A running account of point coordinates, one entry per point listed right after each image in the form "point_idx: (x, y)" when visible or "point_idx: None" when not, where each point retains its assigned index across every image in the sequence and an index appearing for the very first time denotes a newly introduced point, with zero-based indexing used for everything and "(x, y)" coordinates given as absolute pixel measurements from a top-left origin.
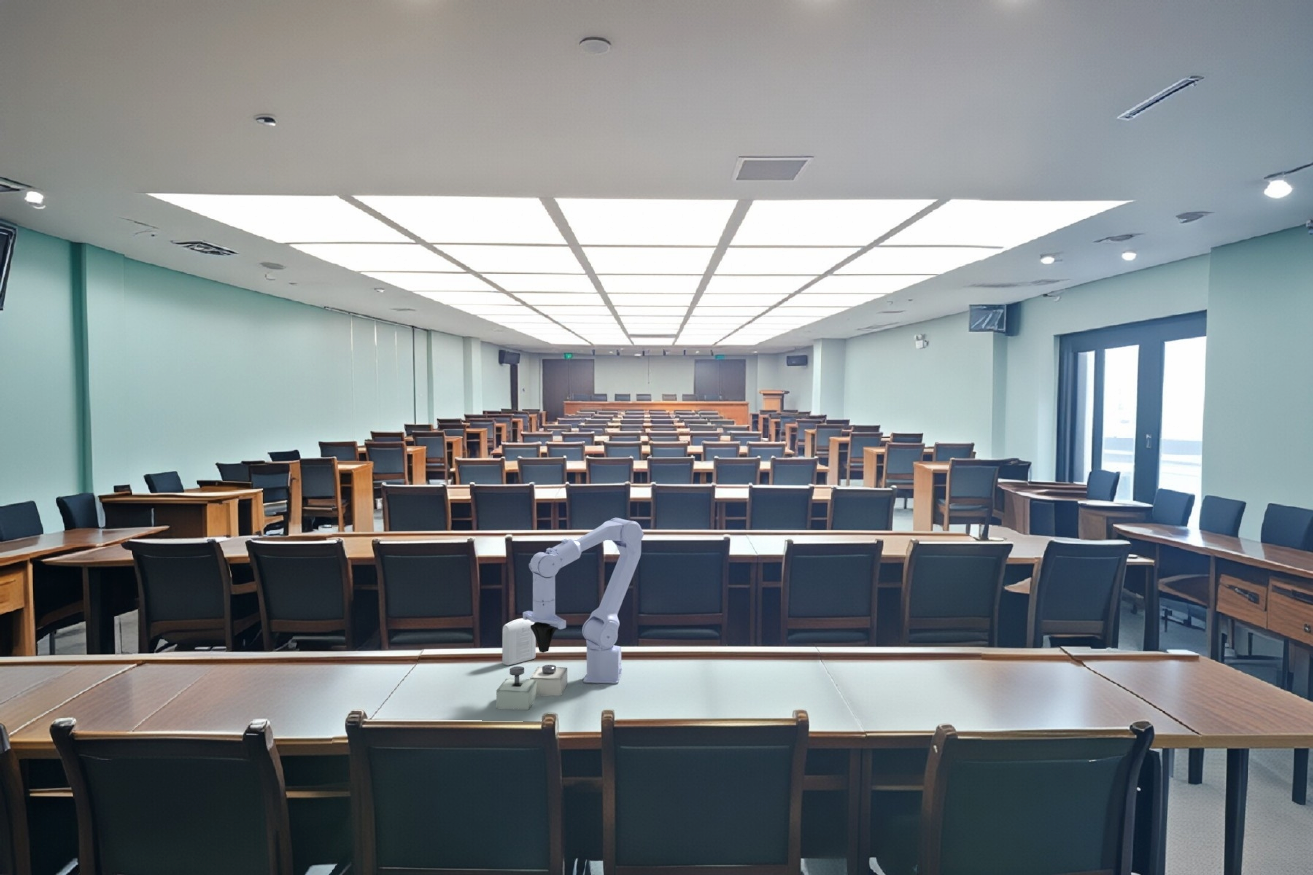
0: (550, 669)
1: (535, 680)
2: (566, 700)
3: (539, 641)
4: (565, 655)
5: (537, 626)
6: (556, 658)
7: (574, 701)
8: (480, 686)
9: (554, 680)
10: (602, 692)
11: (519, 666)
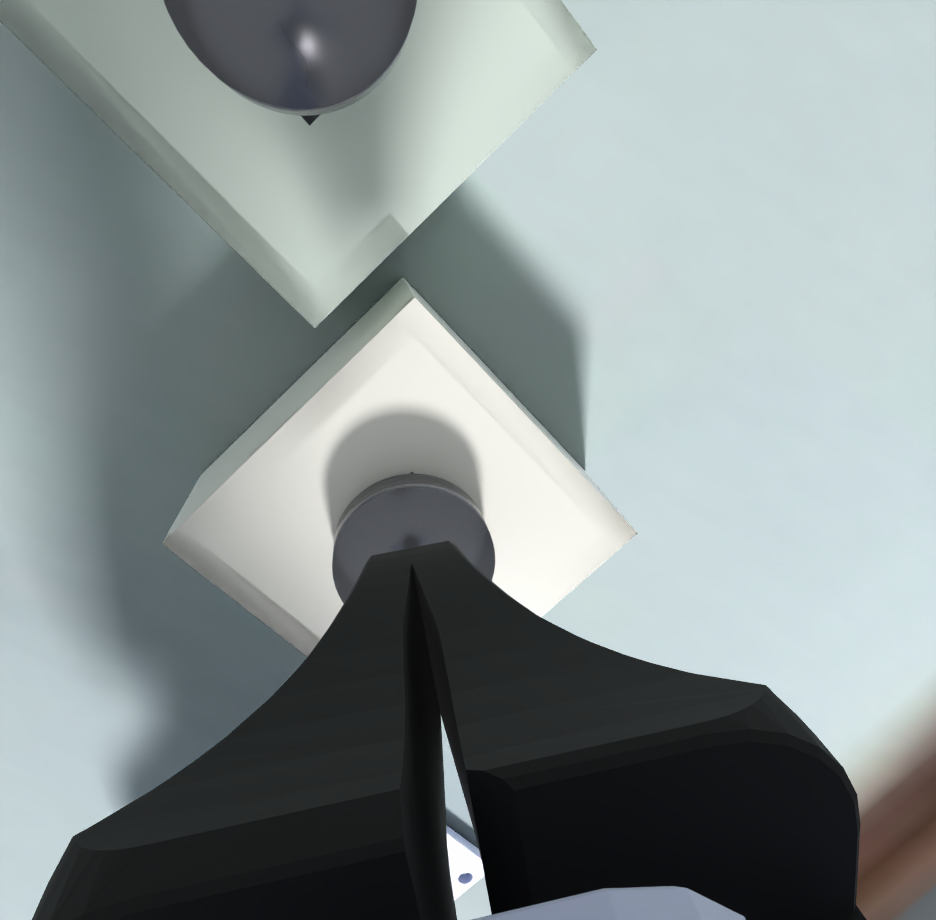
0: (337, 541)
1: (291, 296)
2: (72, 459)
3: (436, 625)
4: (880, 877)
5: (399, 887)
6: (887, 811)
7: (7, 500)
8: (924, 21)
9: (214, 485)
10: (55, 757)
11: (373, 81)
